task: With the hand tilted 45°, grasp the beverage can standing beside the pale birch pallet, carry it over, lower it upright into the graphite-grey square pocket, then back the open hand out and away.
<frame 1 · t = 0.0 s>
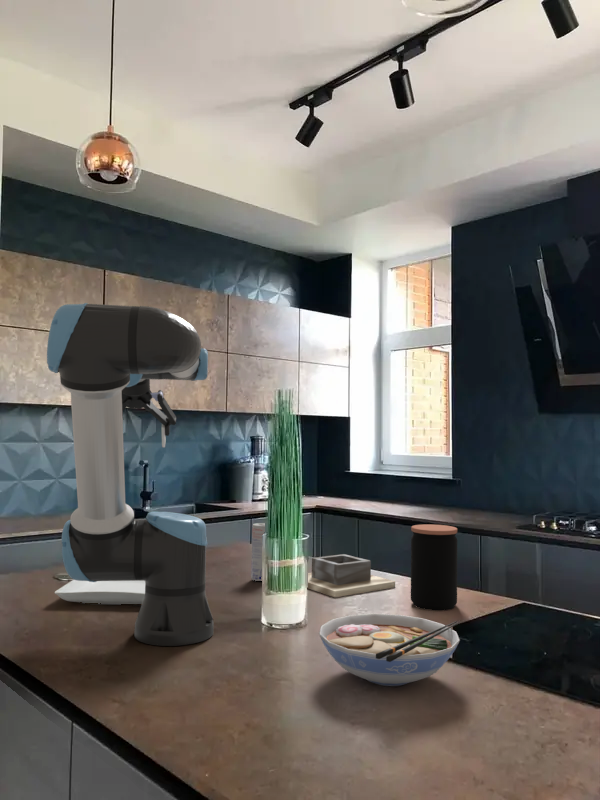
hand: (137, 444, 177), 36 cm above the worktop, tool tilted 35°, fingers open, 13 cm apart
pallet: (340, 584, 175), on the worktop
beverage can: (261, 581, 178), on the worktop
ramen bowl: (387, 679, 109), on the worktop
coffee jar: (433, 606, 155), on the worktop
square plate: (129, 595, 162), on the worktop
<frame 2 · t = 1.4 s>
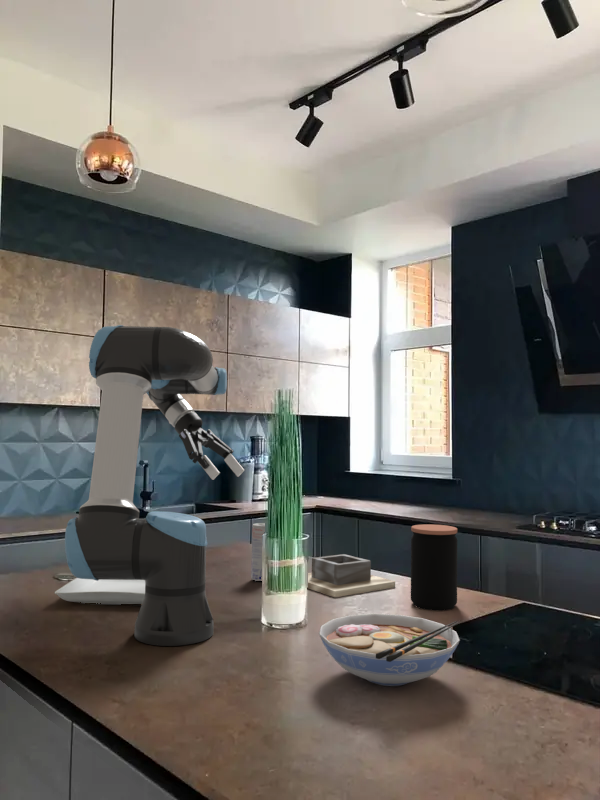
hand: (229, 474, 184), 28 cm above the worktop, tool tilted 45°, fingers open, 13 cm apart
nothing on the worktop moved.
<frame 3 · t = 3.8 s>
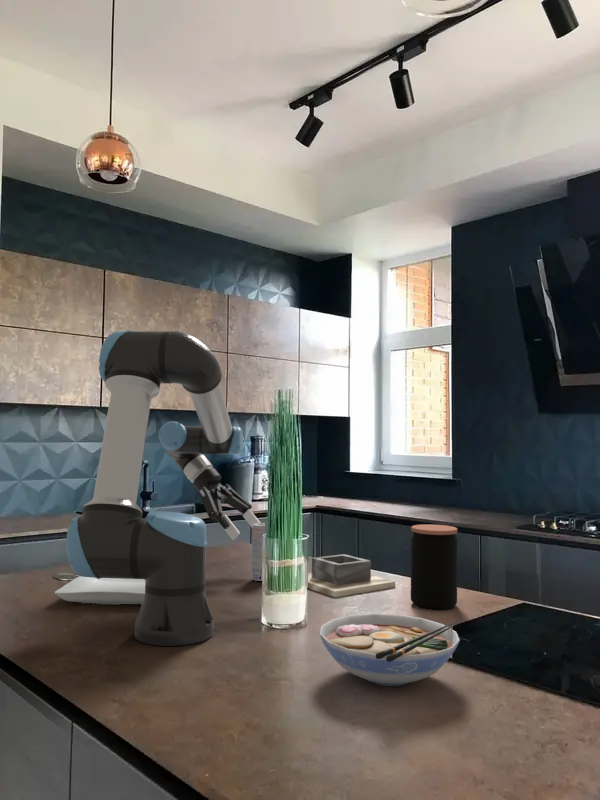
hand: (248, 533, 182), 12 cm above the worktop, tool tilted 45°, fingers open, 13 cm apart
nothing on the worktop moved.
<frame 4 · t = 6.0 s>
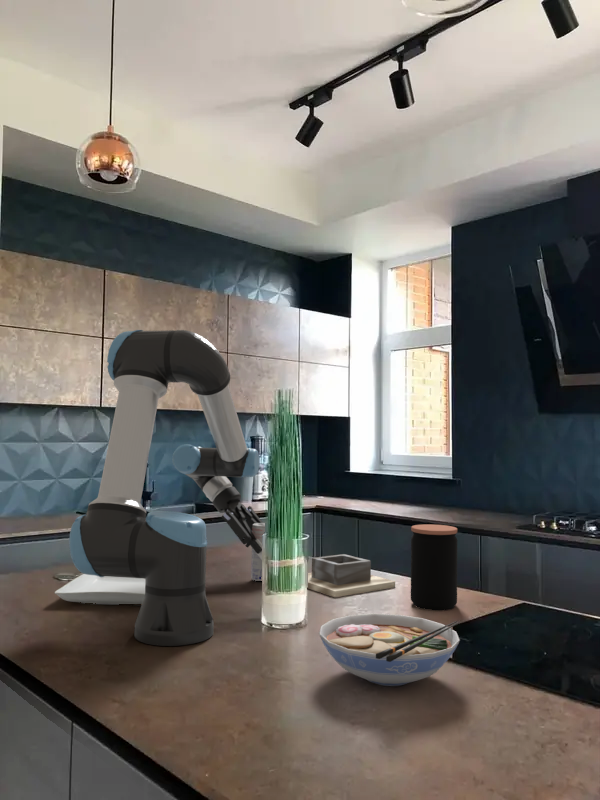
hand: (274, 559, 177), 6 cm above the worktop, tool tilted 45°, fingers closed on beverage can, 5 cm apart
beverage can: (261, 580, 178), on the worktop, touching gripper
everything else where it was.
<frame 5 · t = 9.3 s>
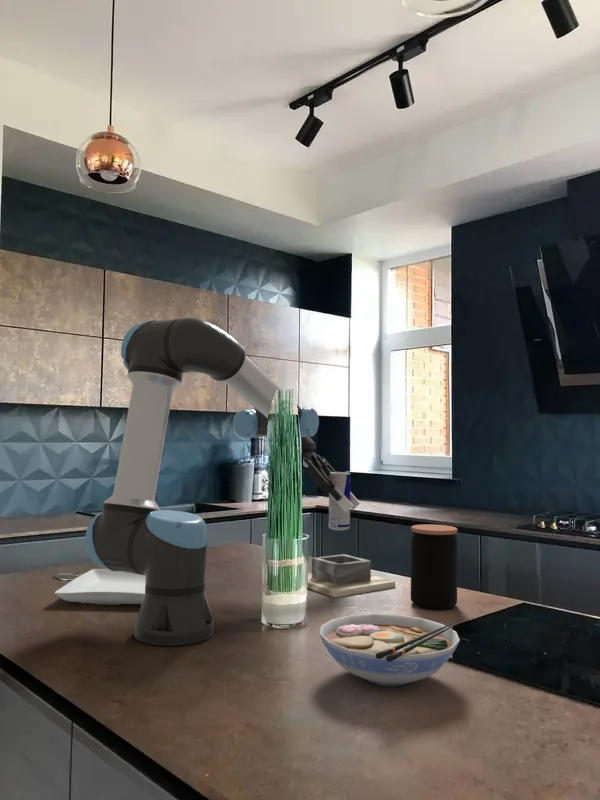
hand: (352, 507, 175), 20 cm above the worktop, tool tilted 45°, fingers closed on beverage can, 5 cm apart
beverage can: (339, 529, 176), point 14 cm above the worktop, touching gripper
everything else where it was.
when the fingers open (9 cm above the worktop, at t = 12.4 s): beverage can drops 1 cm, resting on pallet.
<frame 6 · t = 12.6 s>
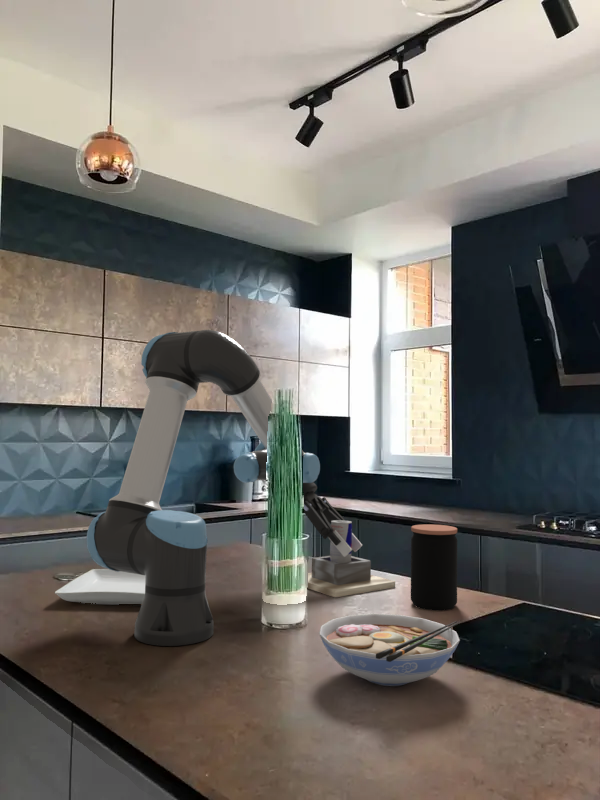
hand: (353, 550, 174), 9 cm above the worktop, tool tilted 45°, fingers open, 7 cm apart
beverage can: (340, 579, 175), point 1 cm above the worktop, touching pallet
everything else where it was.
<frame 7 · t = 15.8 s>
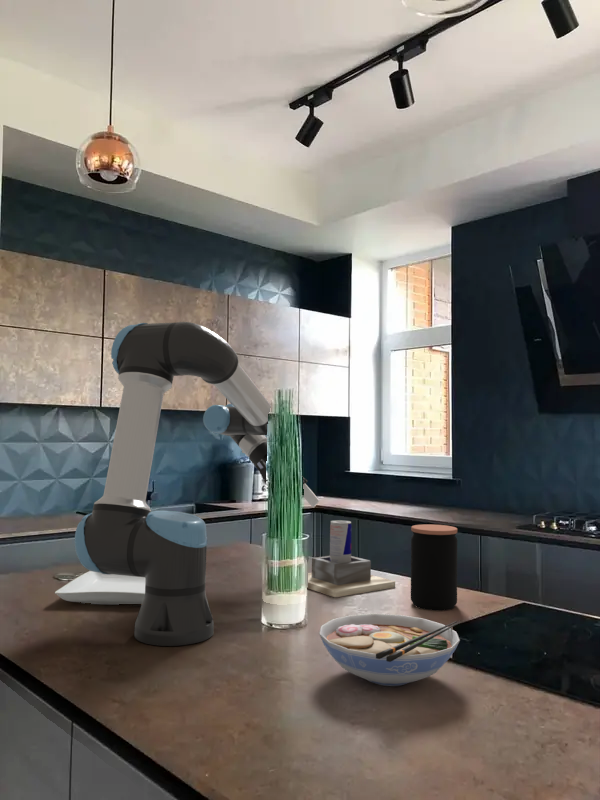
hand: (306, 506, 180), 20 cm above the worktop, tool tilted 45°, fingers open, 13 cm apart
nothing on the worktop moved.
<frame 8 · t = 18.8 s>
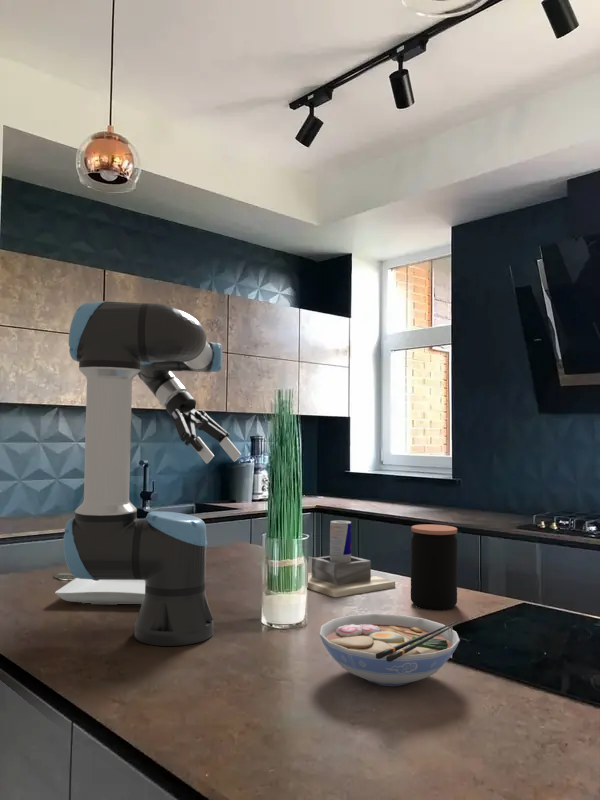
hand: (224, 458, 169), 33 cm above the worktop, tool tilted 45°, fingers open, 13 cm apart
nothing on the worktop moved.
at the end: beverage can 0.3 cm off-centre on the pallet, point 1.3 cm above the pallet's base; beverage can tilted 0°; the gripper is holding nothing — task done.
